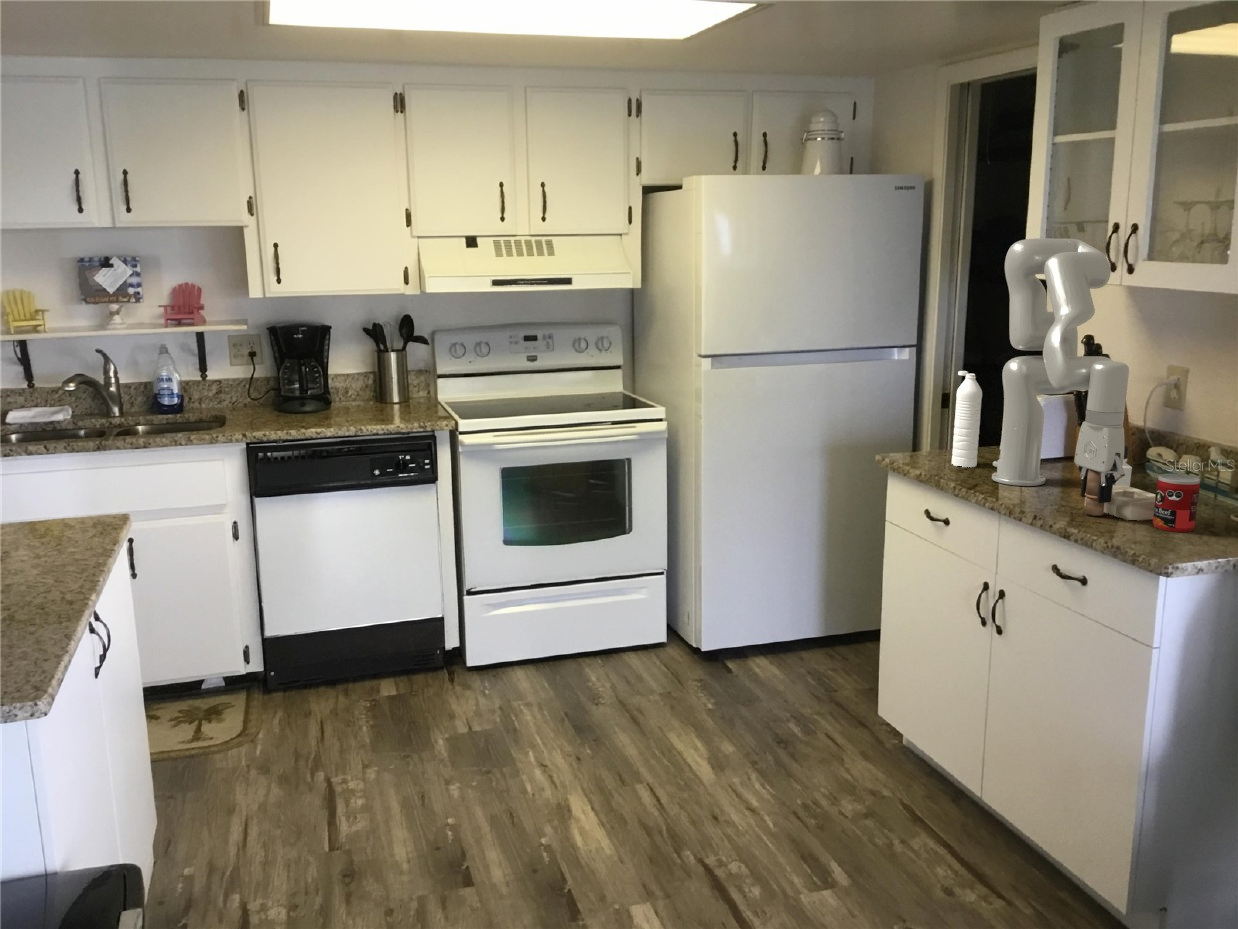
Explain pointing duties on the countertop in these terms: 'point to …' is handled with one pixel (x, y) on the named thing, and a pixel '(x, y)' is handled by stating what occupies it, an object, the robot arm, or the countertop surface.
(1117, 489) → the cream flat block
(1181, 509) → the canned food
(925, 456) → the countertop surface
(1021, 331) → the robot arm
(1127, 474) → the medicine bottle
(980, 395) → the water bottle
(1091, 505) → the peg
